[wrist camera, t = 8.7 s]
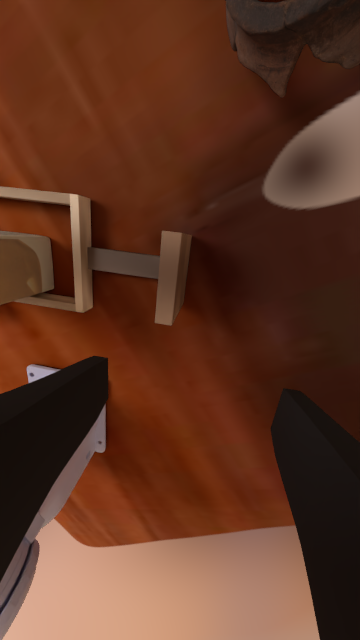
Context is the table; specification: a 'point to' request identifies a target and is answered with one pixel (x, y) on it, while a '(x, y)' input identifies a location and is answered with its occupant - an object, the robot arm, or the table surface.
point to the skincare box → (24, 265)
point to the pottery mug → (292, 35)
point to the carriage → (112, 260)
